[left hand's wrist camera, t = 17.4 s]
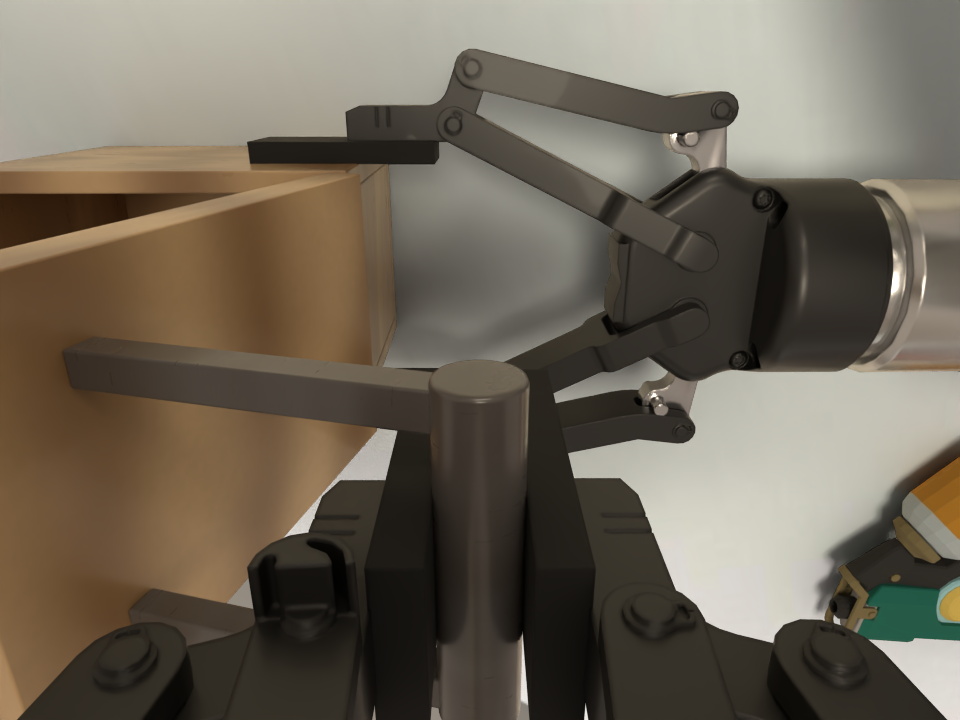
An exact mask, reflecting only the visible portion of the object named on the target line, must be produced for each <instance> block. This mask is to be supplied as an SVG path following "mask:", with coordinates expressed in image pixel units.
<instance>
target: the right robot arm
mask: <svg viewBox="0 0 960 720" xmlns="http://www.w3.org/2000/svg"><path fill="white" fill-rule="evenodd" d="M483 91H486V92H490V93H494V94H498V95H502V96H507V97H511V98H515V99H519V100H523V101H527V102H531V103H535V104H539V105H543V106H547V107H551V108H556V109H560V110H564V111H568V112H572V113H576V114H580V115H584V116H588V117H592V118H596V119H600V120H605V121H609V122H613V123H617V124H621V125H625V126H629V127H633V128H637V129H641V130H646V131H651V132H656V133H663V142H664V144H665V146H666V147H667V148H668V149H669V150H671V151H673V152H676V153H679V154H685V155H686V156H687V157H688V158H689V159H690V161H691V164H692V169H691V170H689V171H688V172H686V173H685V174H683V175H682V176H681V177H679V178H678V179H676V180H675V181H673V182H672V183H670V184H669V185H668V186H666V187H665V188H663V189H662V190H660V191H659V192H657V193H656V194H655V195H653V196H652V197H650V198H649V199H647V200H646V201H644V202H642V201H640V200H638V199H636V198H635V197H633V196H631V195H629V194H627V193H625V192H623V191H621V190H620V189H618V188H616V187H614V186H612V185H610V184H608V183H606V182H604V181H602V180H600V179H598V178H596V177H594V176H592V175H590V174H589V173H587V172H585V171H583V170H581V169H579V168H577V167H575V166H573V165H572V164H570V163H568V162H566V161H564V160H562V159H560V158H558V157H556V156H555V155H553V154H551V153H549V152H547V151H545V150H543V149H541V148H540V147H538V146H536V145H534V144H532V143H530V142H528V141H526V140H524V139H523V138H521V137H519V136H517V135H515V134H513V133H511V132H509V131H507V130H506V129H504V128H502V127H500V126H498V125H496V124H494V123H492V122H490V121H489V120H487V119H485V118H483V117H481V116H479V115H477V114H476V111H477V108H478V105H479V102H480V99H481V96H482V93H483ZM738 109H739V106H738V101H737V99H736V98H735V96H734V95H732V94H731V93H729V92H722V91H699V92H692V93H684V94H677V95H669V96H662V95H658V94H654V93H650V92H646V91H642V90H638V89H634V88H630V87H626V86H622V85H618V84H614V83H610V82H606V81H602V80H598V79H594V78H590V77H586V76H582V75H578V74H574V73H570V72H566V71H562V70H558V69H554V68H550V67H546V66H542V65H538V64H534V63H530V62H526V61H522V60H518V59H514V58H510V57H506V56H502V55H498V54H494V53H490V52H486V51H482V50H478V49H468V50H465V51H463V52H462V53H461V54H460V55H459V56H458V57H457V59H456V62H455V66H454V69H453V72H452V76H451V79H450V82H449V85H448V88H447V91H446V93H445V95H444V96H443V98H442V99H441V100H440V101H438V102H437V103H435V104H433V105H362V106H358V107H356V108H353V109H351V110H349V111H347V112H346V125H347V137H267V138H263V139H258V140H254V141H249V142H247V145H248V153H249V161H250V164H435V163H436V161H437V160H438V158H439V142H449V143H451V144H452V145H454V146H456V147H458V148H460V149H462V150H464V151H466V152H468V153H470V154H472V155H474V156H476V157H478V158H479V159H481V160H483V161H485V162H487V163H489V164H491V165H493V166H495V167H497V168H499V169H501V170H503V171H505V172H506V173H508V174H510V175H512V176H514V177H516V178H518V179H520V180H522V181H524V182H526V183H528V184H530V185H532V186H534V187H535V188H537V189H539V190H541V191H543V192H545V193H547V194H549V195H551V196H553V197H555V198H557V199H559V200H561V201H562V202H564V203H566V204H568V205H570V206H572V207H574V208H576V209H578V210H580V211H582V212H584V213H586V214H588V215H589V216H591V217H593V218H595V219H597V220H599V221H600V222H602V223H604V224H605V225H607V226H609V227H610V228H612V229H614V232H613V233H609V244H608V255H609V260H610V265H611V274H610V277H609V280H608V283H607V286H606V289H605V300H604V308H605V310H606V311H603V312H601V313H599V314H597V315H595V316H593V317H591V318H589V319H588V320H586V321H585V322H584V324H583V325H582V326H580V327H579V328H577V329H574V330H572V331H570V332H568V333H566V334H564V335H562V336H559V337H557V338H555V339H553V340H551V341H549V342H546V343H544V344H542V345H540V346H538V347H536V348H533V349H531V350H529V351H527V352H525V353H523V354H520V355H518V356H516V357H514V358H512V359H510V360H507V361H505V362H504V363H508V364H511V365H513V366H516V367H518V368H520V369H547V370H548V374H549V378H550V382H551V386H552V390H553V393H555V392H557V391H559V390H562V389H564V388H566V387H568V386H571V385H573V384H575V383H577V382H579V381H582V380H584V379H586V378H588V377H591V376H593V375H595V374H597V373H600V372H614V371H617V370H620V369H622V368H624V367H626V366H629V365H631V364H633V363H635V362H637V361H640V360H642V359H644V358H646V357H649V358H650V359H652V360H653V361H655V362H656V363H657V364H659V365H660V366H661V367H663V368H664V369H666V370H667V371H668V373H667V374H666V375H665V377H663V378H662V379H660V380H657V381H646V382H644V383H643V384H642V386H641V388H640V389H639V390H620V391H614V392H608V393H603V394H598V395H594V396H589V397H584V398H579V399H574V400H569V401H564V402H560V403H556V407H557V411H558V415H559V419H560V423H561V427H562V431H563V435H564V439H565V444H566V448H567V452H568V453H571V452H576V451H581V450H586V449H591V448H596V447H601V446H606V445H611V444H616V443H621V442H626V441H631V440H636V439H642V440H651V441H660V442H669V443H685V442H687V441H689V440H690V439H691V438H692V437H693V435H694V433H695V425H694V423H693V421H692V420H691V418H690V417H689V412H690V408H691V404H692V400H693V397H694V393H695V389H696V385H697V382H698V381H700V380H703V379H706V378H708V377H710V376H712V375H714V374H716V373H719V372H722V371H727V370H742V371H753V372H834V371H840V370H843V369H845V368H848V369H851V370H855V371H858V372H916V371H958V372H960V180H941V179H870V180H867V181H864V182H862V183H858V182H857V181H854V180H851V179H845V178H820V179H751V178H743V177H741V176H739V175H738V174H736V173H735V172H733V171H731V170H729V169H727V168H726V144H727V126H729V125H730V124H731V123H732V122H733V121H734V120H735V118H736V116H737V114H738ZM397 369H406V370H413V369H438V368H397ZM380 429H381V428H380Z"/></svg>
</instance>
